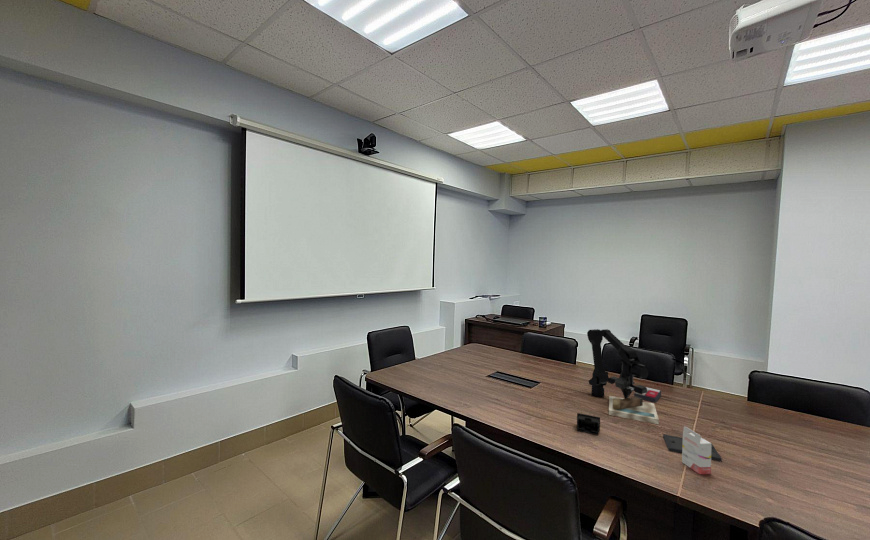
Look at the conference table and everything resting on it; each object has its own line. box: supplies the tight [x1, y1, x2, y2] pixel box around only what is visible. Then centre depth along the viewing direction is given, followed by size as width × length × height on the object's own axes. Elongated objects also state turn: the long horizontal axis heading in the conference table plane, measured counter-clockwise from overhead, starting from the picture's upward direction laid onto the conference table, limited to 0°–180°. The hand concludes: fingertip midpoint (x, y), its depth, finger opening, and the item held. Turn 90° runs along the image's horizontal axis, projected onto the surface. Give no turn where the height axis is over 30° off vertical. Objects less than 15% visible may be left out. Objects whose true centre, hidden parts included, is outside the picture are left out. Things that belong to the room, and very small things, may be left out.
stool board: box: [608, 395, 660, 425], centre depth 184 cm, size 22×23×3 cm
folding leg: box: [613, 396, 644, 410], centre depth 184 cm, size 19×4×5 cm, turn 112°
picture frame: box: [662, 433, 723, 463], centre depth 147 cm, size 13×2×18 cm
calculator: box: [633, 386, 662, 404], centre depth 206 cm, size 11×4×15 cm
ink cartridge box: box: [681, 425, 713, 475], centre depth 132 cm, size 9×5×15 cm, turn 5°
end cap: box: [576, 412, 601, 436], centre depth 162 cm, size 10×7×7 cm
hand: (626, 400), depth 188 cm, fingers closed
